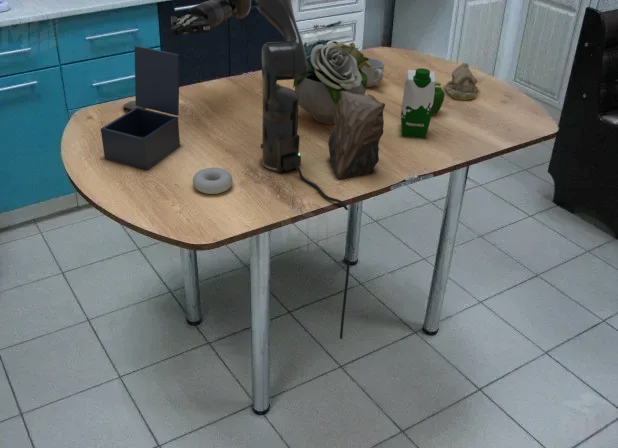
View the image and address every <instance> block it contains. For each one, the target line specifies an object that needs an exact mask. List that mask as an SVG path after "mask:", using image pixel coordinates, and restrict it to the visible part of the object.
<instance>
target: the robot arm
mask: <svg viewBox="0 0 618 448" xmlns="http://www.w3.org/2000/svg"><path fill="white" fill-rule="evenodd" d="M254 4H255V7H256V9H257V10H258V12H259V14H261V15H262V17H263V18H264V19H265V20H266V21H267V22H269V24H271V26H273V27H274V28H275V30H277V31H278V33H279V34H280V35H281V38H282V39H283V41H269V42H265V43H264V44H263V45H262V47H261V51H260V52H261V54H260V63H261V78H262V79H261V82H262V83H261V84H262V85H261V87H262V137H261V138H262V142H261V144H260V150H261V151H262V153H261V154H262V157H261V158H262V159H261V165H262V166H263V167H264V168H265V169H267V170H269V171H273V172H277V173H279V174H281V173H284V172H287V171H291V170H294V169H296V170H297V172H298V175H299V178H300V179H301V180H302V181H303V182H304V183H306V184H308V185H310V186H312V187H313V188H315V189H316V190H317V191H318V192H319V194H320V195H321V196H322V197H323V198H325V199H326V200H328V201H331V202H336V203H338V204H340V205H341V206H342V207H343V209H344V210H345V211H349V207H348V206H347V205H346V203H345V202H344V201H343V200H340V199H338V198H334V197H330V196H328V195H327V194H325V193H324V191H323V190H322V189H321V188H320V187H319V185H317V184H316V183H315V182H312V181H309V180H308V179H306V178H305V176H304V175H303V173H302V170H301V169H300V167H301V165H302V164H301V163H302V156H301V154H300V134H298V131H299V107H300V105H299V96H298V94H297V92H295V89H293V88H290V87H286V86H283V85H280V84H278V83H277V82H278V81H289V80H290V81H291V80H294V79H300V78H303V77H304V76H305V74H306V72H307V58H306V53H305V49H304V46H303V45H304V43H303V39H302V36H301V33H300V29H299V27H298V24H297V21H296V17H295V13H294V8H293V3H292V0H254ZM251 7H252V0H206V1H204V2H200V3H199V4H196V5H195V6H193V7H191V8H190V9H189V10H188V12H187V13H186V15H182V16H180V18H178V17H177V16H176V15H171V16H170V22H171V23H170V24H171V27H170V28H169V35H170V36H171V37H174V38H176V37H178V36H180V35H187V34H189V35H198V34H206V33H210V31H211V30H212V29H214V28H216V27H217V26H219V25H220V24H222V23H223V22H226V21H228V20H229V19H230V18H231V17H233V18H235V19H236V20H242V19H244V18H246V17H247V16H248V15H249V13H250V11H251ZM350 262H351V261H350V260H347V261H346V270H345V282H344V283H345V284H344V292H343V300H342V310H341V319H340V329H339V330H340V331H339V339H340V340H342V339H343V336H344V335H343V334H344V323H345V322H344V321H345V314H346V303H347V295H348V287H349V277H350V265H351V263H350Z"/></svg>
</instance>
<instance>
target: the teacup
mask: <svg viewBox="0 0 618 448" xmlns="http://www.w3.org/2000/svg"><path fill="white" fill-rule="evenodd" d="M366 57H367V56H366ZM367 58H369V60H368V61H367V62H369V63H370V64H371V67H369V68H368V67H365V66H364V67H362V68H361V71H362V72H363V73H364V74H366V76H367V78H368V80H367V88H372V87H373V88H374V87H375V86H376V85H378V84H380V82H381V81H383V79H384V68H385V62H384V61H382V60H380V59H378V58H373V57H367Z"/></svg>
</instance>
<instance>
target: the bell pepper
mask: <svg viewBox="0 0 618 448" xmlns="http://www.w3.org/2000/svg"><path fill="white" fill-rule="evenodd" d="M441 85H442V83H441V82H436V87H435V94H434V101H433V107H432V113H431V116H434V115H437V114H438V113H439V112H440V110H441V108H442V106H443V103H444V100H445V95H446V94H445V91H444V90H443V89H442V87H441Z"/></svg>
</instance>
